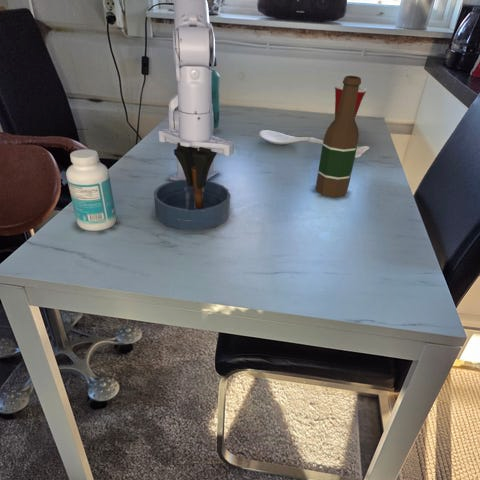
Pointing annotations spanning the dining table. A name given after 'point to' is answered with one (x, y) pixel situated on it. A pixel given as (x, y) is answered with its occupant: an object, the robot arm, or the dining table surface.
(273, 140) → the spoon
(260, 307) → the dining table surface
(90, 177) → the pill bottle
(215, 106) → the beverage bottle
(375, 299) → the dining table surface
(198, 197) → the stirring stick
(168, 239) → the dining table surface
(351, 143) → the beer bottle
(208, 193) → the bowl
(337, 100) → the plastic cup
